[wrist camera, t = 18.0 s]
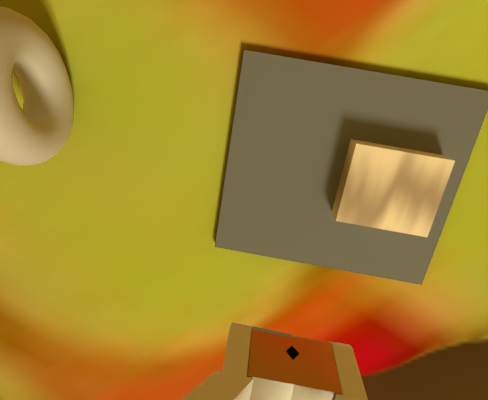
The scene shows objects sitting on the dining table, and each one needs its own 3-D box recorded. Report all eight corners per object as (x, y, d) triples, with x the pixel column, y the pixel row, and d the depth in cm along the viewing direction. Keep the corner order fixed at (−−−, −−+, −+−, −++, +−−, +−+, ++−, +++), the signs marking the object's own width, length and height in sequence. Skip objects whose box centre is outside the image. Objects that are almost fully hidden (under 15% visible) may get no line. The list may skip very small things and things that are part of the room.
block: (331, 211, 29) (417, 227, 29) (335, 220, 27) (427, 237, 27) (350, 139, 27) (442, 155, 27) (356, 143, 25) (455, 160, 25)
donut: (93, 150, 30) (9, 182, 20) (54, 151, 30) (-47, 184, 21) (68, 17, 27) (-45, -17, 17) (25, 20, 27) (-110, -11, 18)
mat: (418, 280, 31) (421, 284, 31) (215, 243, 32) (214, 246, 31) (489, 91, 26) (494, 91, 25) (244, 50, 26) (244, 49, 26)
